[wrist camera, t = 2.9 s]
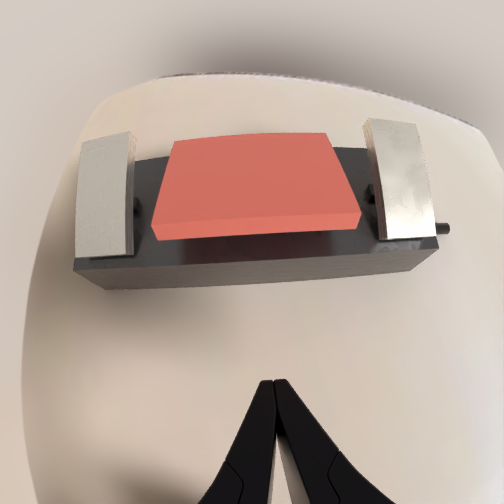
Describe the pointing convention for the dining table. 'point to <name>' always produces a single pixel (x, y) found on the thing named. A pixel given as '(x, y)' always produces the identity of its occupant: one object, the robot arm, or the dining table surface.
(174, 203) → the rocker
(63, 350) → the dining table surface
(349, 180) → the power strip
